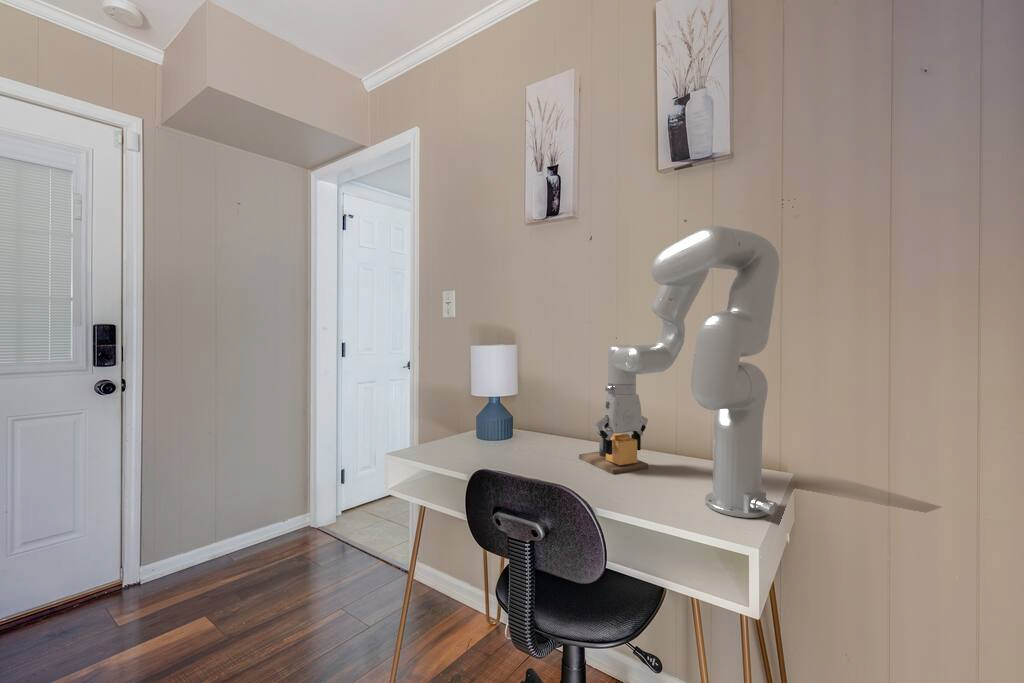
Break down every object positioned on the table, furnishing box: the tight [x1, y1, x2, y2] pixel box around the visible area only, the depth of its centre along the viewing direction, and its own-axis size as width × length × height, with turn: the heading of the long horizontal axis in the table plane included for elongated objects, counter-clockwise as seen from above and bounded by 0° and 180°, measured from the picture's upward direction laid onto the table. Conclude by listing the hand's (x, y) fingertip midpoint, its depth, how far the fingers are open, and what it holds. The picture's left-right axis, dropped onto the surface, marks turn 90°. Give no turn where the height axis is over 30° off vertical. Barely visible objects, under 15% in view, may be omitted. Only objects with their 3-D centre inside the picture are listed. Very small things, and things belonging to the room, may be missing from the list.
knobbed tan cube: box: [606, 433, 638, 465], centre depth 129 cm, size 6×6×7 cm
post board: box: [578, 440, 649, 475], centre depth 133 cm, size 16×12×7 cm
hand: (622, 451), depth 129 cm, fingers open, 9 cm apart
